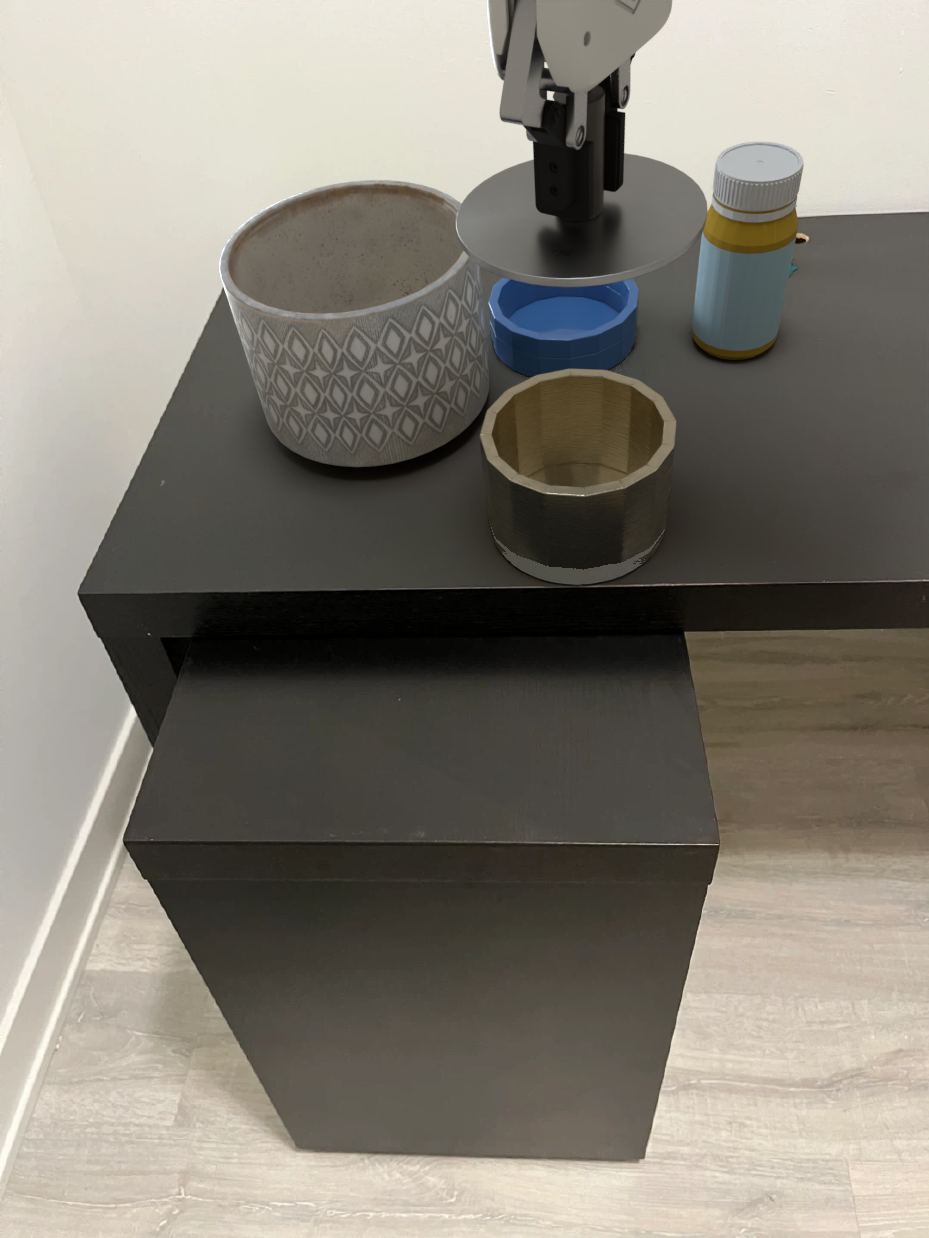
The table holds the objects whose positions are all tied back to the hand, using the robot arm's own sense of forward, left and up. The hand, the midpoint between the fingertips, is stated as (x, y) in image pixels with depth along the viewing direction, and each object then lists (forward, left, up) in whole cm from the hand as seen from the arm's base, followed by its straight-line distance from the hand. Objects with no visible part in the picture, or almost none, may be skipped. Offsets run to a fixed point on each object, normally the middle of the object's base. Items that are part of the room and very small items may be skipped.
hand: (579, 197), depth 51 cm
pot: (0, +1, -23) cm, 23 cm away
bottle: (-1, -24, -24) cm, 34 cm away
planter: (+21, -3, -24) cm, 31 cm away
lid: (0, 0, -1) cm, 1 cm away
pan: (+12, -18, -23) cm, 32 cm away
